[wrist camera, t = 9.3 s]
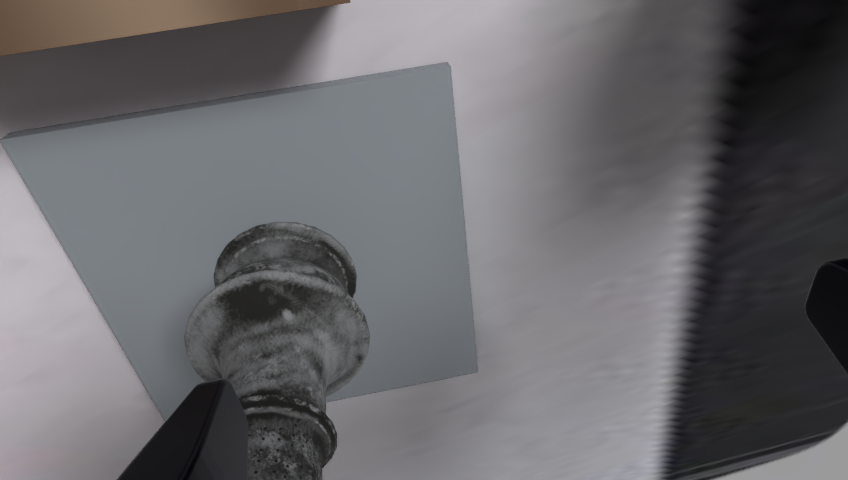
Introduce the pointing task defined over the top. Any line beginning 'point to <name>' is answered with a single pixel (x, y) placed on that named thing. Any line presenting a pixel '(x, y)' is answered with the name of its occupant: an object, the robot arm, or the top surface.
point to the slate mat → (268, 214)
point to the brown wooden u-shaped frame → (121, 18)
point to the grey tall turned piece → (282, 341)
